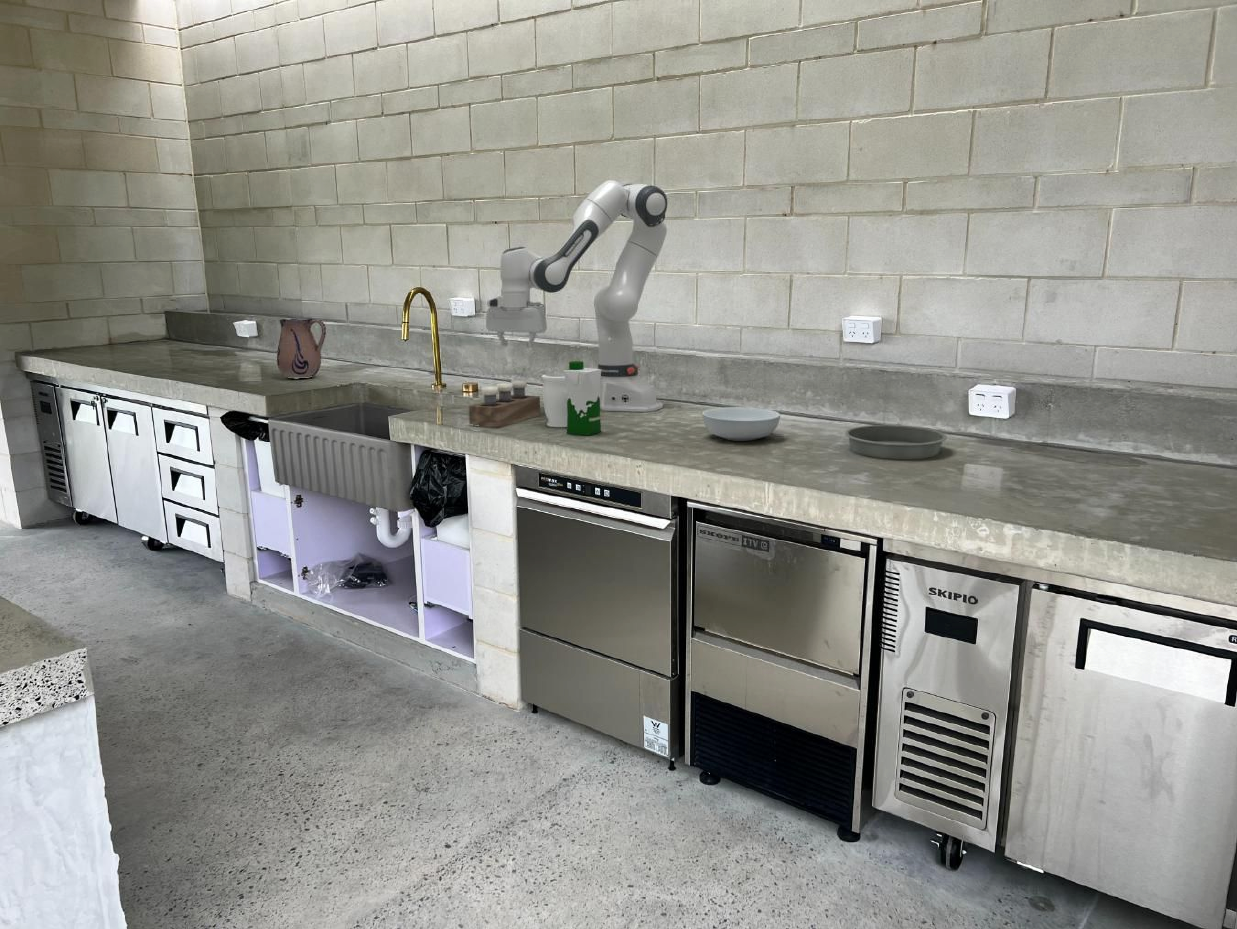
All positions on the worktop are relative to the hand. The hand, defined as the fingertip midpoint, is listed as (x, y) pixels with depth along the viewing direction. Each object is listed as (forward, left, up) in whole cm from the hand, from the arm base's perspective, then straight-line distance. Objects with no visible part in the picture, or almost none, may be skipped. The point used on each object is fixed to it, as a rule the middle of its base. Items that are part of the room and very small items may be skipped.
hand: (516, 346), depth 287 cm
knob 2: (0, 0, -17) cm, 17 cm away
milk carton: (-32, +17, -22) cm, 43 cm away
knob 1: (0, +16, -17) cm, 23 cm away
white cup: (-20, +9, -22) cm, 31 cm away
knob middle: (0, +8, -17) cm, 19 cm away
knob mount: (0, +8, -22) cm, 23 cm away
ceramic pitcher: (+137, -48, -22) cm, 146 cm away
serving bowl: (-75, +7, -22) cm, 79 cm away
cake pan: (-116, +8, -22) cm, 119 cm away
